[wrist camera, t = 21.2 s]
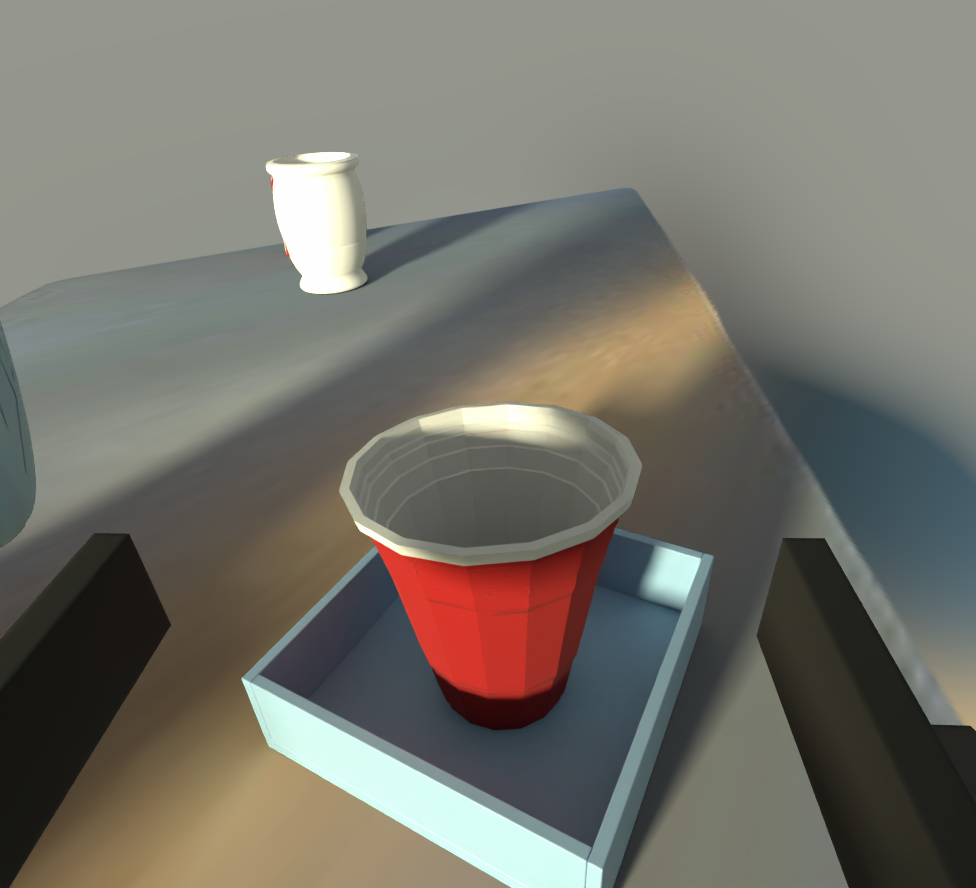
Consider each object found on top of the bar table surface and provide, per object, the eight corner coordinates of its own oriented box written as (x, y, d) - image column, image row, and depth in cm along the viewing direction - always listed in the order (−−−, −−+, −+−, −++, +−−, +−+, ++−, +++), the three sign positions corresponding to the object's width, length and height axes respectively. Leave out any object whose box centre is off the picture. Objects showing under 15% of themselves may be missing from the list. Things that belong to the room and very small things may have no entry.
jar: (368, 267, 87) (350, 148, 79) (383, 289, 79) (364, 159, 71) (289, 279, 84) (262, 156, 76) (296, 303, 76) (266, 169, 68)
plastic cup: (571, 568, 35) (576, 368, 28) (666, 746, 26) (704, 513, 19) (373, 611, 33) (330, 408, 26) (400, 820, 24) (345, 590, 17)
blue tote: (267, 746, 28) (240, 678, 25) (449, 539, 38) (442, 477, 36) (596, 938, 21) (602, 870, 19) (701, 623, 32) (714, 555, 30)
